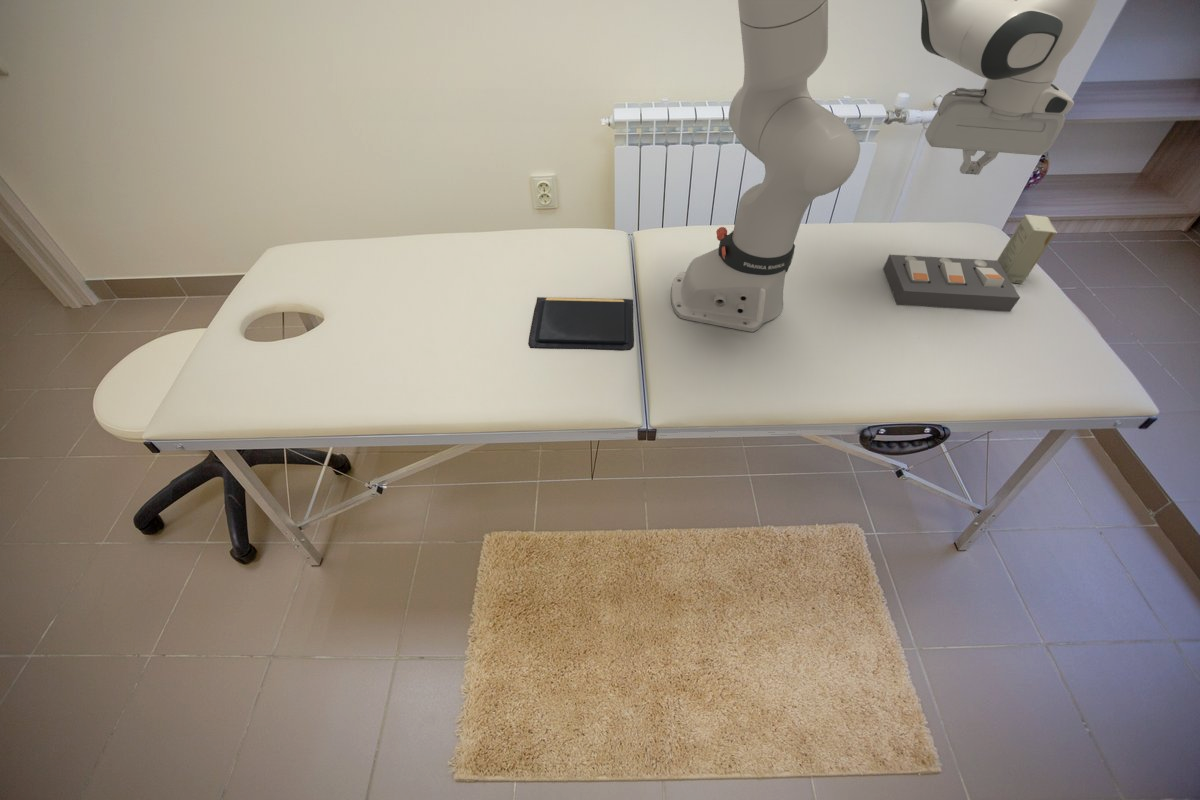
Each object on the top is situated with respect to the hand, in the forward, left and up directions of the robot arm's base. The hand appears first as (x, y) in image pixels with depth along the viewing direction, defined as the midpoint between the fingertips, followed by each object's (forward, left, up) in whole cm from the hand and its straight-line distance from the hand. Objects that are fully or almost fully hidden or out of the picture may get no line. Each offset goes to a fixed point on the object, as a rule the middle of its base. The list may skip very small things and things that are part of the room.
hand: (968, 172), depth 103 cm
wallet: (-69, -22, -24) cm, 76 cm away
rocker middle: (+5, -4, -19) cm, 20 cm away
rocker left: (-2, -4, -19) cm, 20 cm away
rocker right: (+12, -4, -19) cm, 23 cm away
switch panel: (+5, -4, -23) cm, 24 cm away
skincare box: (+20, +2, -23) cm, 30 cm away
